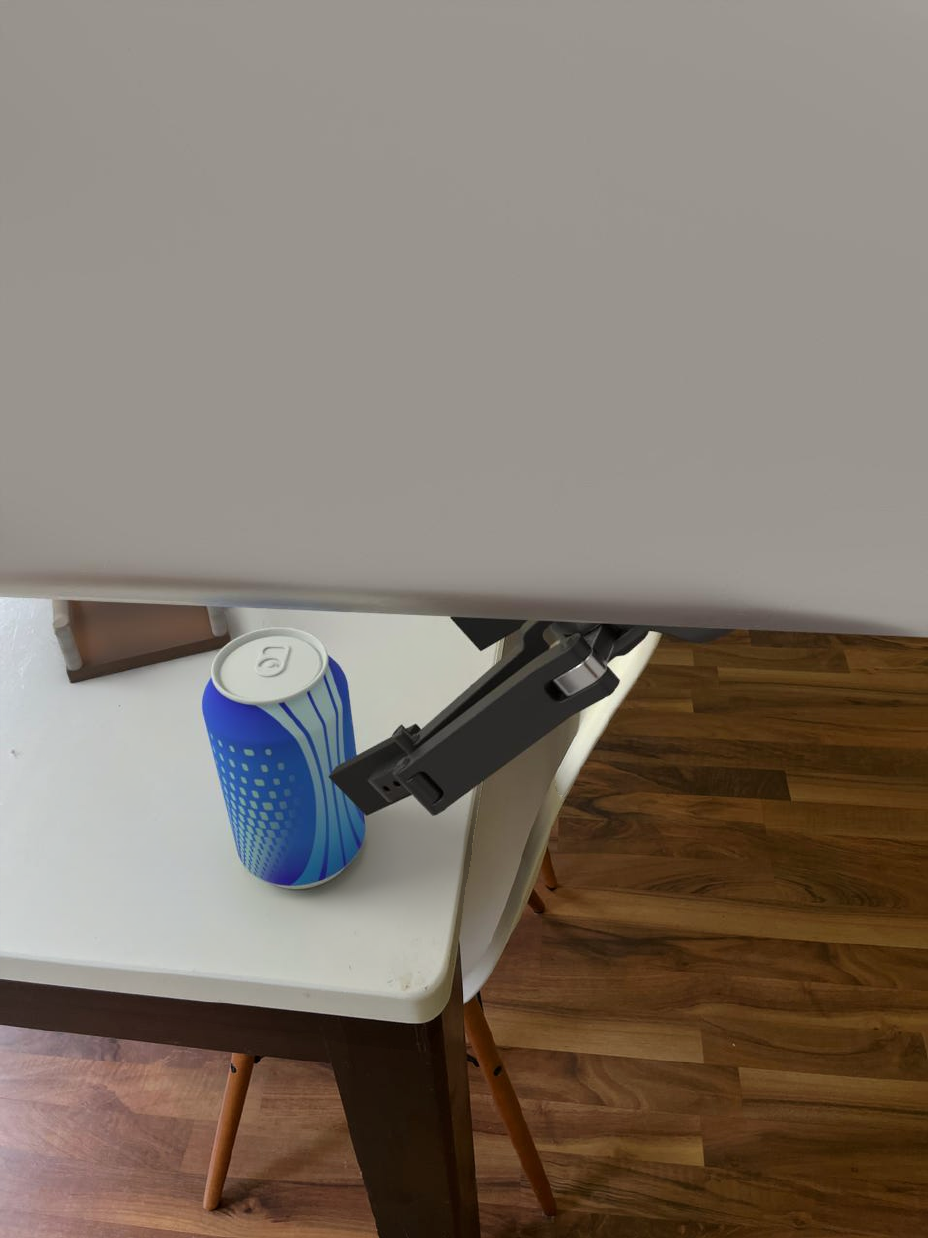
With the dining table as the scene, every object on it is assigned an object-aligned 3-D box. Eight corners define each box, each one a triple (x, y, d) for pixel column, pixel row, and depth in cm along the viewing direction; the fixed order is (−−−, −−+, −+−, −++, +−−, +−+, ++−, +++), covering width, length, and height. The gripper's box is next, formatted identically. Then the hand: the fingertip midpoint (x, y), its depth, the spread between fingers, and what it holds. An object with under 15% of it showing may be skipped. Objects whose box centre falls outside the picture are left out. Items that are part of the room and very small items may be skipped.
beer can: (393, 841, 66) (375, 656, 56) (296, 923, 61) (257, 736, 51) (310, 780, 70) (279, 599, 60) (213, 851, 65) (163, 667, 56)
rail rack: (232, 645, 83) (220, 591, 79) (70, 684, 79) (51, 629, 76) (207, 563, 92) (196, 512, 89) (63, 594, 89) (45, 541, 86)
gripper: (723, 813, 30) (344, 936, 44) (842, 452, 48) (544, 622, 62) (566, 635, 29) (227, 820, 43) (748, 331, 46) (466, 534, 61)
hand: (414, 704), depth 53 cm, fingers open, 13 cm apart
